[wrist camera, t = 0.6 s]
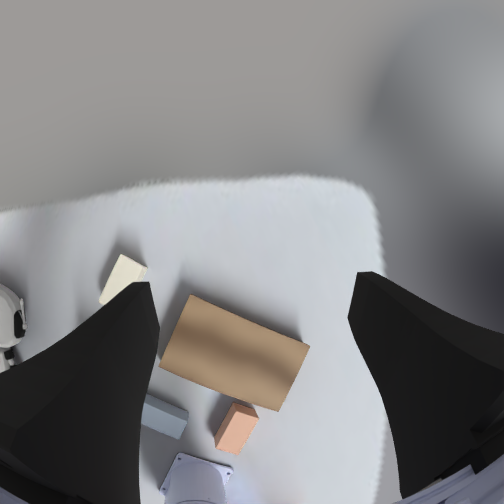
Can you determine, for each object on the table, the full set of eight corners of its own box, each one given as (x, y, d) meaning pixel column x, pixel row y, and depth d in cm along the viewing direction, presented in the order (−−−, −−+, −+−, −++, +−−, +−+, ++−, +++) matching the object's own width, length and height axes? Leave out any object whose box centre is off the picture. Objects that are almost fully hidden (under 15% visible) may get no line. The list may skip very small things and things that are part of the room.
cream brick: (127, 312, 31) (120, 315, 28) (106, 300, 31) (98, 301, 28) (148, 268, 32) (143, 266, 29) (127, 256, 32) (120, 253, 29)
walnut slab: (273, 404, 32) (278, 411, 30) (161, 360, 31) (158, 366, 28) (302, 342, 34) (310, 346, 32) (191, 293, 32) (190, 294, 30)
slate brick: (188, 411, 31) (187, 421, 28) (180, 428, 30) (178, 439, 27) (144, 391, 30) (139, 400, 27) (136, 409, 29) (131, 419, 26)
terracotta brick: (234, 443, 31) (238, 455, 28) (214, 436, 31) (215, 448, 28) (254, 408, 32) (259, 418, 29) (232, 401, 32) (236, 411, 29)
